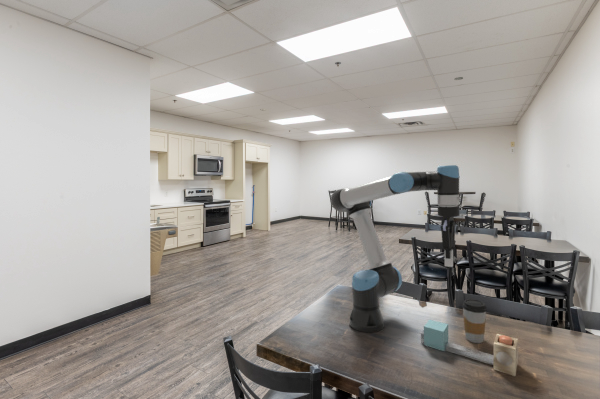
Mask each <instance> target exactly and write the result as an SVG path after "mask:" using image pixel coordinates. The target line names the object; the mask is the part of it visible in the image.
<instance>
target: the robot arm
mask: <svg viewBox="0 0 600 399" xmlns="http://www.w3.org/2000/svg"><path fill="white" fill-rule="evenodd" d="M459 168H460V167H459V166H458V165H457V164H455V165H454V164H451V165H450V164H449V165H448V164H447V165H439V166H437V170H435V171H415V172H413V171H411V172H406V171H400V172H397V173H394V174H393V175H391V176H389V177H384V178H382V179H379V180H378V179H377V180H374V181H372V182H368V183H365V184H362V185H359V186H355V187H344V188H340V189H336V190H334V192H333V193H332V194H331V197H330V205H331V206H332V208H333V209H334V210H336V211H337V212H340V213H347V214H348V217H349V218H351V219H352V220H353V223H354V225H355V227H356V232H357V234H358V236H359V240H360V243H361V245H362V248H363V250H364V254H365V256H366V259H367V262H368V268H367V269H364V270H362V269H361V270H358V271H356V272H355V273H354V274H353V275H352V278H351V279H352V280H351V281H352V282H351V288H352V289H351V290H352V309H351V312H350V316H349V318H348V319H349V320H348V321H349V326H350V327H351V328H352V329H353V330H356V331H357V332H362V333H376V332H379V331H381V330H382V329H384V328H385V320H384V316H383V314H382V312H381V309H380V299H381V298H383V297H385V296H388V295H391V294H393V293H395V292H397V291H398V290H399V289H400V288H401V285H402V284H403V279H402V274H401V271H400V270H399V269H397V268H396V267H395V266H393V265H392V262H391V261H389V260H388V259H387V257H386V255H385V254H386V253H385V251H384V249H383V246H382V244H381V241H380V238H379V236H378V233H377V230H376V227H375V225H374V222H373V219H372V216H371V214H370V213H371V211H372V208H371V206H372V204H373V203H372V202H373V201H375V200H379V199H383V198H387V197H388V198H389V197H391V196H395V195H400V194H404V193H410V192H420V191H437V205H438V206H437V216H439V217H442V221H441V225H440V230H441V241H442V242H441V244H442V248H441V250H442V251H443V250H444V267H449V268H453V267H454V250H456V247H455V245H456V244H455V242H456V241H455V240H456V239H455V238H456V236H455V235H456V224H457V223H456V220H455V217H459V216H460V200H461V199H462V197H461V196H460V169H459Z"/></svg>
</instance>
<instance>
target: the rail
mask: <svg viewBox="0 0 600 399" xmlns="http://www.w3.org/2000/svg"><path fill="white" fill-rule="evenodd" d="M420 340H421V341H420V343H421V344H422V345H424V329H423V330H422V331H421V333H420ZM445 351H446V352H449V353H452V354H455V355H458V356H461V357H466V358H468V359H471V360H475V361H478V362H481V363H485V364H487V365H492V366H493V359H494V354H491V353H488V352H485V351H480V350H477V349H473V348H470V347H466V346H463V345H459V344H456V343H453V342H449V341H448V342H446V344H445V350H444V352H445Z"/></svg>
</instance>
